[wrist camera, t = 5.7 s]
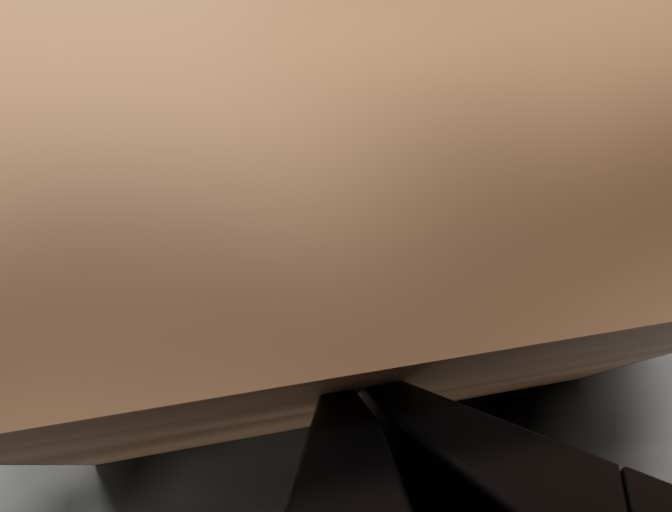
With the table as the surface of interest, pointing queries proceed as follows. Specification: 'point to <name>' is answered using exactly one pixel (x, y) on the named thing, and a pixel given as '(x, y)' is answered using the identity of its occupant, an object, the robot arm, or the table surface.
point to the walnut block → (319, 209)
